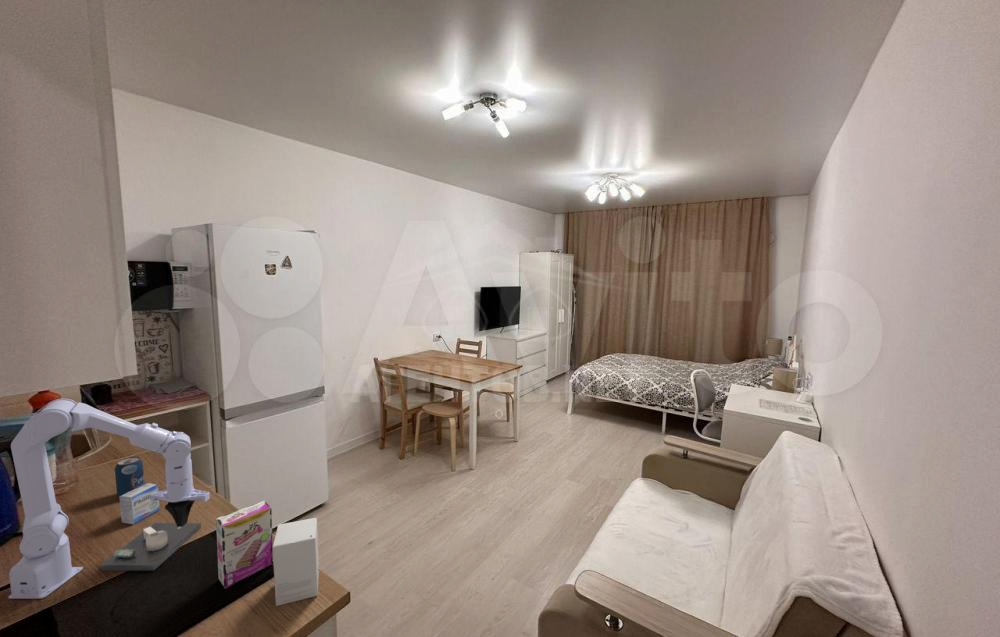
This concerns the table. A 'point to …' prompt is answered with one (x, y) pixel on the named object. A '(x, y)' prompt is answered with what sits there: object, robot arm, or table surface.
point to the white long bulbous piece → (154, 538)
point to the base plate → (143, 560)
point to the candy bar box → (244, 543)
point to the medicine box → (138, 504)
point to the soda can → (129, 475)
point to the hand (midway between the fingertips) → (182, 524)
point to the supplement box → (296, 561)
